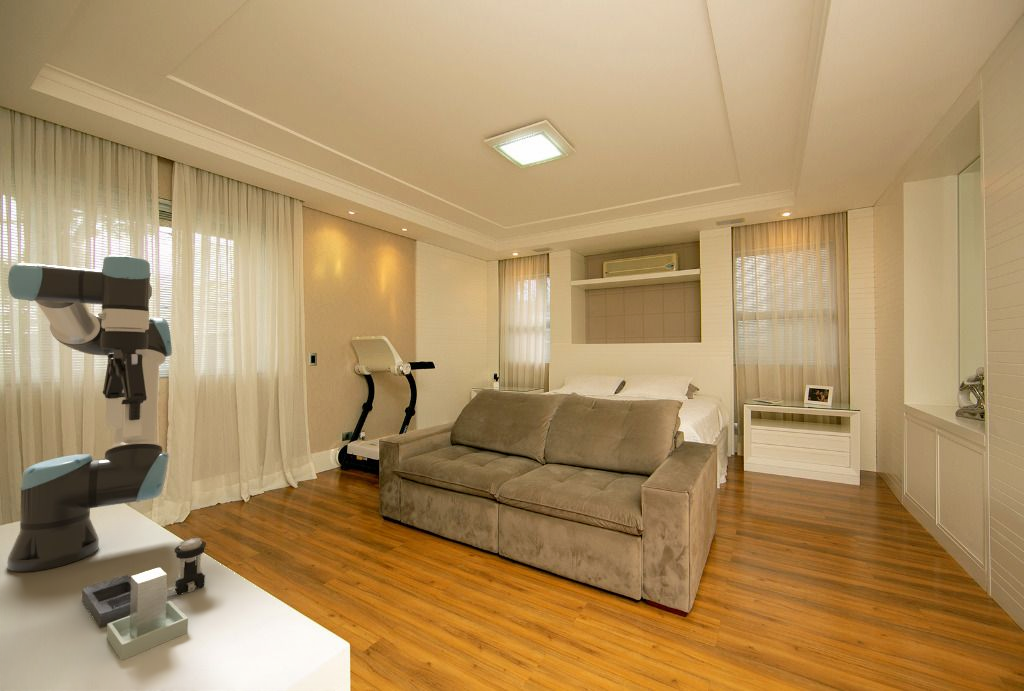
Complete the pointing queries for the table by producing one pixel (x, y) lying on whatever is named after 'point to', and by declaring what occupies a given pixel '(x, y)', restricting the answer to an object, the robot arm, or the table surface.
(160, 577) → the block
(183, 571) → the push button
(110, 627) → the parts tray
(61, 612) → the table surface
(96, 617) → the dark gray slotted holder
